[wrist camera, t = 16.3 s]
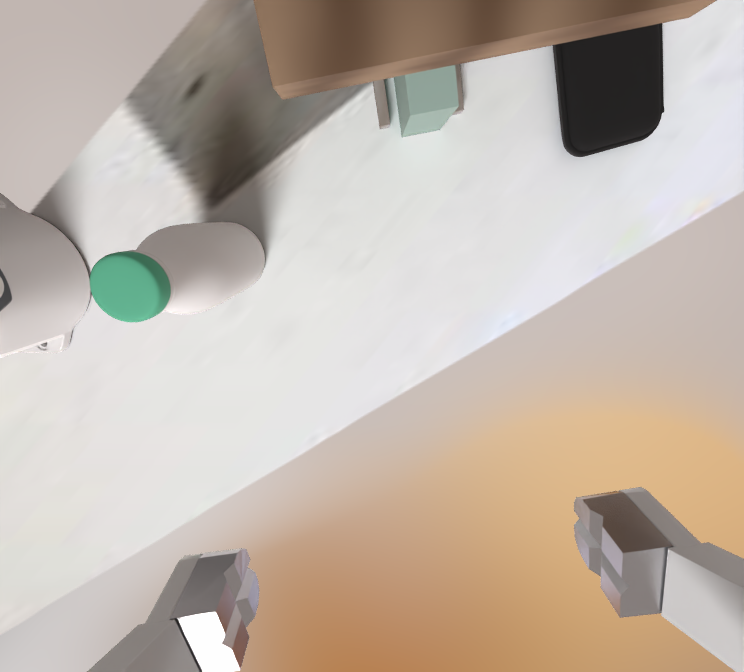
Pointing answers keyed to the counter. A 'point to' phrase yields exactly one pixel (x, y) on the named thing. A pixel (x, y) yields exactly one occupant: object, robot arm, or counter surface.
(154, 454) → the counter surface
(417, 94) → the sage rectangular block
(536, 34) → the walnut overhang shelf
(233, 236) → the milk bottle
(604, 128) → the carrying case or bag
